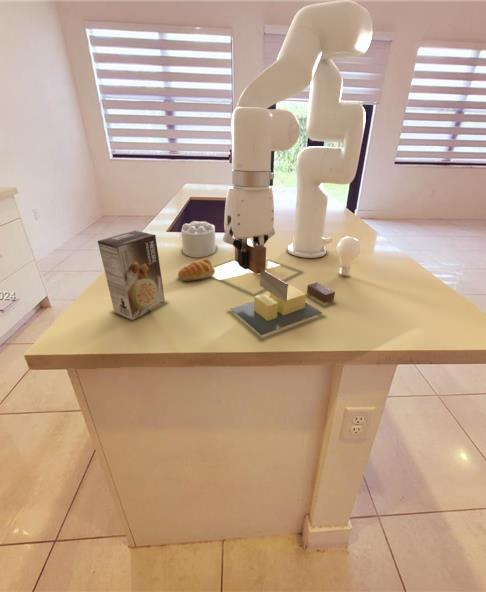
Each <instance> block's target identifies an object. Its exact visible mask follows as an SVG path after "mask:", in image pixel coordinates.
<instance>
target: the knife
mask: <svg viewBox="0 0 486 592" xmlns="http://www.w3.org/2000/svg"><path fill="white" fill-rule="evenodd" d="M234 239H235V240H236V238H235V237H234ZM247 252H248V253H249V267H248V269H249V270H251V271H252V273H253V272H254V273H256V274H258V273H260V275H259V286H260V287H261V288H263V289H264V290H265V291H267V292H269V294H270V293H272V294H273V295H275V296H276V297H278V298H279V299H281V300H282V301H284V302H287V290H288V286H289V283H287V282H285V281H284V280H282V279H280V278H279V277H277V276H275V275H274V274H271V273H270V272H268V271H267V270H266V271H265V266H266V256H267V246H265V245H264V246H262V245H260V244H258V243H256V242H254V241H253V239H252V240H251V239H249V238H247ZM234 260H235V261H236V262H238V249H236V247H234ZM254 273H253V274H254ZM256 274H255V275H256Z"/></svg>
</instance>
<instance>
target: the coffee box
mask: <svg viewBox="0 0 486 592" xmlns="http://www.w3.org/2000/svg"><path fill="white" fill-rule="evenodd" d="M97 244H98V249H99V253H100V257H101V261H102V266H103V270H104V274H105V279H106V282H107V287H108V291H109V296H110V299H111V304H112V308H113V312H114V313H116V314H118V315H121V316H122V317H125V318H126V319H129V320H132V321H135V320H136V319H138V318H140V317H141V316H143V315H145V314H147V313H149V312H151V310H150V308H152V307H154V306H156V305H158V304H160V303H162V302H164V301H165V299H166V298H165V293H164V292H165V291H164V285H163V279H162V271H161V265H160V257H159V249H158V243H157V236H156V234H152V233H148V232H146V231H145V232H144V231H140V230H132V231H129V232H124V233H121V234H118V235H114V236H110V237H106V238H103V239H100V240H99V239H98V240H97Z"/></svg>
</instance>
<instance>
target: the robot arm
mask: <svg viewBox="0 0 486 592" xmlns="http://www.w3.org/2000/svg"><path fill="white" fill-rule="evenodd" d="M372 37H373V20H372V17H371V14H370V12H369V10H368V9H366V8H365V7H364V6H362V5H361V4H360V3H357V2H356V1H353V0H333V1H327V2H320V3H314V4H309V5H305V6H304V7H302V8H300V9H299V10H298V11H297V12H296V13H295V15H294V17H293V18H292V21H291V24H290V25H289V29H288V30H287V33H286V35H285V38H284V41H283V42H282V46H281V48H280V50H279V53H278V55H277V58H276V60H275V61H274V62H273V63H271V64H270V65H268V66H267V67H266V68H265V69H264V70H263V71H261V72H260V73H259V74H258V75H257V76H256V77H255V78H253V79H252V80H251V81H250V82H249V83H248V84H247V86H245V88H244V90H243V91H242V93H241V94H240V95H239V99H238V101H237V104H236V106H235V108H234V110H233V111H232V113H231V122H230V137H231V186H228V188H227V191H226V195H225V196H226V197H225V203H224V205H225V206H224V218H223V219H224V221H223V227H224V235H223V237H222V241H223V242H224V243H227V244H228V245H231V246H233V247H234V248H235V247H236V249H238V264H239V266H241V267H242V268H244V269H248V267H249V253H248V252H247V238H248V239H249V238H252V241H254V242H256V243H258V244H260V245H262V246H264V247H265V244H266V243H267V241H268V240H269V239H271V238H272V237H273V236H275V235H276V231H275V227H274V226H275V225H274V223H275V204H274V203H275V201H274V193H273V187H272V186H271V180H274V178H275V173H274V172H271V162H272V152H285V151H289V150H291V149H292V148H293V147H294V146H295V145H296V144H297V142H298V141H299V137H300V133H301V126H300V121H299V119H298V117H297V115H296V114H295V113H294V112H292V111H291V110H288V109H284V108H274V109H273V108H270V107H272V106H273V105H276V104H278V103H280V102H283V101H286V100H287V99H290V98H292V97H295V96H297V95H299V94H300V93H302V92H303V91H305V90H307V89H308V87H310V89H309V98H308V105H307V112H306V122H305V133H306V136H307V138H308V139H309V140H311V141H313V142H314V141H315V142H327V143H341V144H342V147H335V146H333V147H332V146H319V145H318V146H315V145H314V146H307V147H304V148H303V149H301V150H300V151H299V152H298V154H297V156H296V159H295V171H296V199H295V212H294V223H293V235H292V236H293V237H292V243H291V244H289V245H288V246H287V252H288V253H289V254H290V255H293V256H295V257H299V258H304V259H317V258H322V257H324V256H325V255H326V254H327V249H326V248H325V245H328V244H331V243H333V238H332V237H324V233H325V225H326V224H325V223H326V217H327V209H328V201H329V199H328V193H327V191H326V189H325V187H324V185H323V184H332V185H333V184H334V185H349V184H351V183H352V182H353V181H354V179H355V177H356V174H357V171H358V166H359V161H360V155H361V149H362V144H363V138H364V134H365V127H366V110H365V108H364V106H363V105H362V104H361V103H360V102H355V101H354V102H353V101H343V102H341V100H342V99H341V98H342V92H343V85H344V80H343V76H342V74H341V72H340V70H339V68H338V67H337V65H336V64H335V62H334V59H335V60H336V59H347V58H348V59H349V58H350V59H351V58H359V57H362V56H363V55H364V54H365V53H366V52H367V50H368V48H369V47H370V44H371V41H372ZM235 238H236V240H235Z"/></svg>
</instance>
